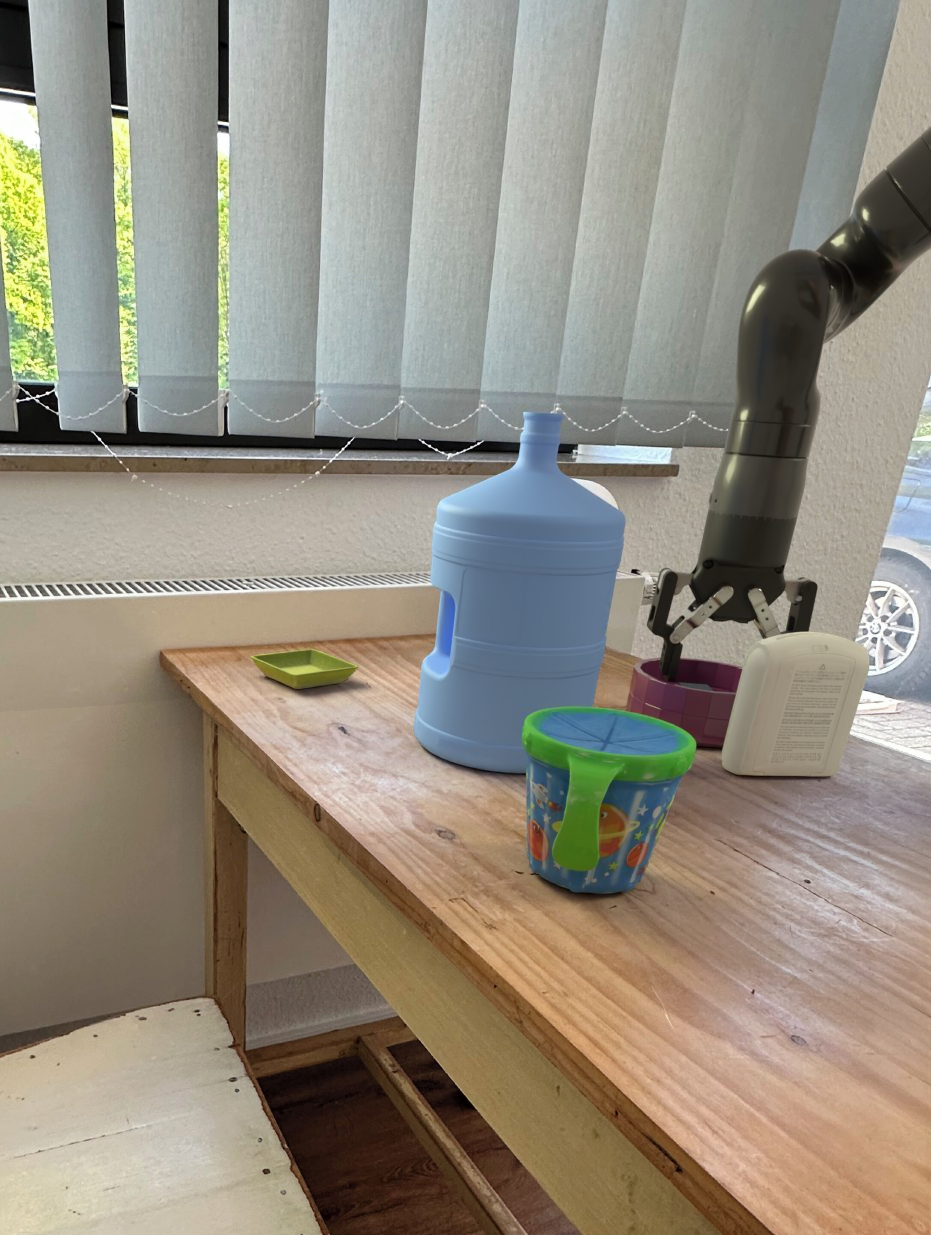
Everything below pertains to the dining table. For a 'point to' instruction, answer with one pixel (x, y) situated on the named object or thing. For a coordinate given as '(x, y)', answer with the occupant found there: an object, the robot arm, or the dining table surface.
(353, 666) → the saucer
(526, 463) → the water jug
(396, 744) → the dining table surface
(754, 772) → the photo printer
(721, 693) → the bowl
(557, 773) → the snack cup
